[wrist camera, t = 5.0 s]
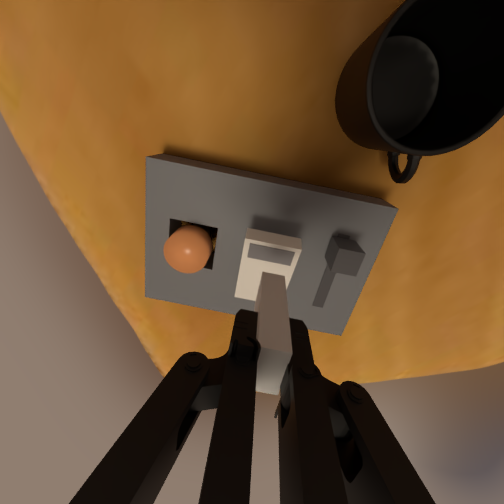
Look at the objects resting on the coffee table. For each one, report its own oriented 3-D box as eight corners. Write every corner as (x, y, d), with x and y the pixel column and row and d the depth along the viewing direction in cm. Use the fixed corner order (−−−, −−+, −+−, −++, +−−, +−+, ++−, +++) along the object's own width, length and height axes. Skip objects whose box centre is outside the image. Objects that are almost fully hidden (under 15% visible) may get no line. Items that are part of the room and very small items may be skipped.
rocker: (247, 227, 23) (244, 239, 22) (301, 238, 23) (301, 250, 22) (236, 285, 28) (234, 297, 27) (280, 294, 28) (280, 306, 27)
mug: (331, 179, 27) (357, 199, 19) (336, 37, 22) (373, -20, 14) (426, 171, 26) (497, 188, 18) (453, 20, 21) (569, -53, 13)
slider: (332, 236, 25) (339, 248, 22) (355, 240, 25) (365, 253, 22) (324, 257, 26) (330, 271, 23) (347, 261, 26) (356, 276, 23)
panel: (162, 153, 27) (140, 157, 22) (381, 198, 27) (404, 212, 23) (158, 279, 34) (140, 302, 29) (333, 314, 34) (343, 342, 30)
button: (183, 211, 29) (164, 228, 24) (221, 219, 29) (210, 238, 24) (181, 245, 31) (162, 268, 26) (216, 252, 31) (205, 277, 26)
